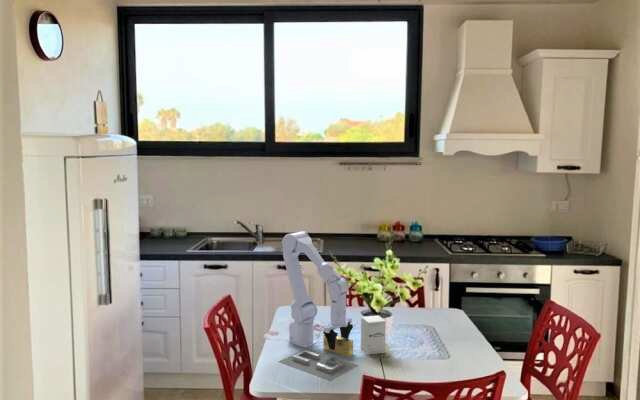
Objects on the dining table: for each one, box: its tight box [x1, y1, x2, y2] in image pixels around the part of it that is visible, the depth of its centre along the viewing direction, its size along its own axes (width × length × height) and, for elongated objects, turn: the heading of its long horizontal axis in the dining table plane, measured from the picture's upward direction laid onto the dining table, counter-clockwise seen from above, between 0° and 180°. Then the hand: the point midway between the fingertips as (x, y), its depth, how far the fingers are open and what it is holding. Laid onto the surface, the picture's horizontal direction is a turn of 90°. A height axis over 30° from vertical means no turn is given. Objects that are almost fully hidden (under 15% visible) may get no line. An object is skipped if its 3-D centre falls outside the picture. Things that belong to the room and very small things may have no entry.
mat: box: [277, 347, 359, 382], centre depth 183 cm, size 24×16×1 cm, turn 50°
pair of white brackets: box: [293, 349, 344, 374], centre depth 183 cm, size 18×7×2 cm, turn 50°
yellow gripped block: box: [323, 334, 354, 358], centre depth 193 cm, size 12×3×6 cm, turn 50°
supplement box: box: [360, 315, 387, 355], centre depth 195 cm, size 7×7×13 cm
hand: (338, 346), depth 193 cm, fingers open, 7 cm apart
